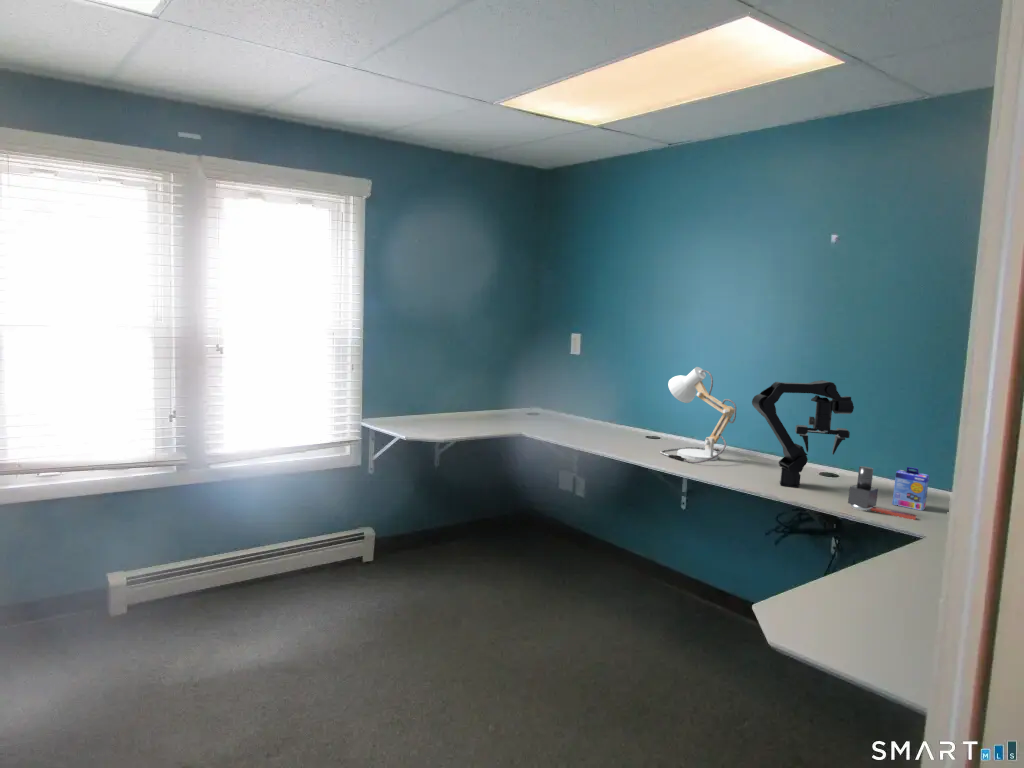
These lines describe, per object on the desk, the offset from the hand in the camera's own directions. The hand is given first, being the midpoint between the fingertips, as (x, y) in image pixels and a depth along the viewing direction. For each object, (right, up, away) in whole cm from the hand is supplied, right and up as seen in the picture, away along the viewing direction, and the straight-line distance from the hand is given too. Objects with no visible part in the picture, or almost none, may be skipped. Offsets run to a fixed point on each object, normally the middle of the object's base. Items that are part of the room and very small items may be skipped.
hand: (820, 453), depth 266 cm
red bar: (+7, -17, -31) cm, 36 cm away
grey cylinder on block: (+3, -15, -27) cm, 31 cm away
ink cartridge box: (+22, -17, -21) cm, 35 cm away
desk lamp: (-35, -6, +45) cm, 58 cm away
